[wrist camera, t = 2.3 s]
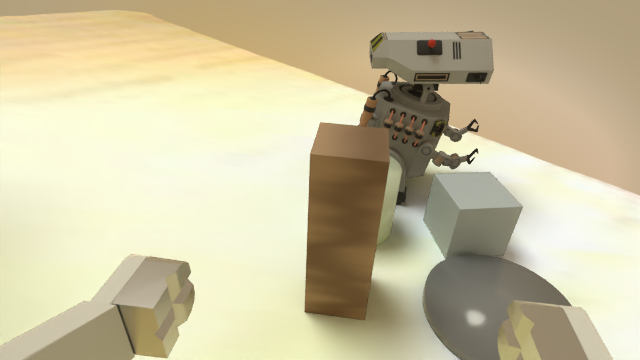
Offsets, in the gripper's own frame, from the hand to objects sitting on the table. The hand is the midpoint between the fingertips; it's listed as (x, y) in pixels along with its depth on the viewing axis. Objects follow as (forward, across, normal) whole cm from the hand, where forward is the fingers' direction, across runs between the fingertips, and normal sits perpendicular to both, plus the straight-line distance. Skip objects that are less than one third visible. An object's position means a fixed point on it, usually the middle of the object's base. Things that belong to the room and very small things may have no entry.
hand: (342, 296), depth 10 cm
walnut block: (+12, +1, +14) cm, 18 cm away
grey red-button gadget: (+28, -5, +14) cm, 32 cm away
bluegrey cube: (+20, -9, +14) cm, 26 cm away
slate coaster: (+12, -10, +14) cm, 21 cm away
